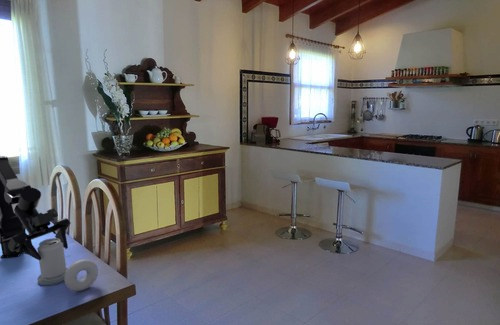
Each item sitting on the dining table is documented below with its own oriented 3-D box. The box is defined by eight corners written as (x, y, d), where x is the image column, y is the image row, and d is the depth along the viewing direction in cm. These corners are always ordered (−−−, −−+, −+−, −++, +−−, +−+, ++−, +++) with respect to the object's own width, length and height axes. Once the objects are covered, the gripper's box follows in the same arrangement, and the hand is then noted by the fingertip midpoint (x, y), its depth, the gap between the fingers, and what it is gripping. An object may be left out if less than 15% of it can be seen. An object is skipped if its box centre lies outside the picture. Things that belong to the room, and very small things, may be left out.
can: (55, 281, 112) (50, 247, 110) (36, 279, 114) (31, 245, 112) (71, 270, 120) (67, 237, 117) (53, 268, 121) (48, 236, 119)
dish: (32, 287, 111) (32, 284, 111) (44, 271, 121) (44, 269, 121) (65, 283, 113) (65, 280, 113) (75, 269, 123) (75, 266, 122)
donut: (68, 298, 105) (64, 268, 103) (64, 293, 107) (60, 264, 105) (101, 285, 112) (98, 256, 110) (97, 281, 114) (94, 253, 112)
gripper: (7, 212, 106) (33, 252, 103) (64, 196, 122) (88, 230, 119) (-3, 231, 111) (22, 271, 108) (53, 213, 127) (76, 247, 124)
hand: (54, 253), depth 114 cm, fingers open, 9 cm apart
